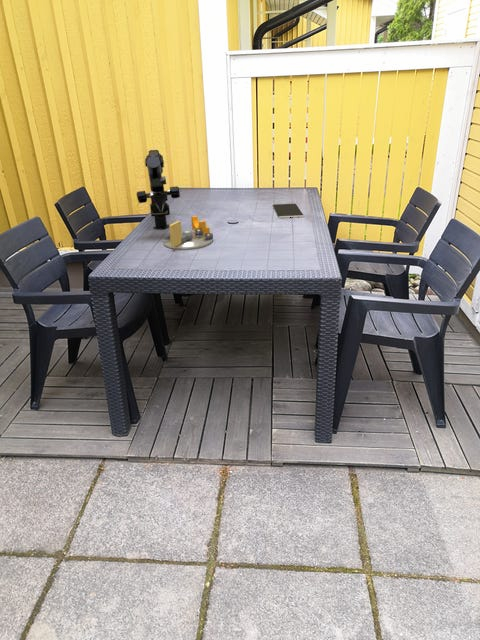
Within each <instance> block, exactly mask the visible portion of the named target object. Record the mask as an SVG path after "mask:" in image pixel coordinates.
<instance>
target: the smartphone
mask: <svg viewBox="0 0 480 640" xmlns="http://www.w3.org/2000/svg"><path fill="white" fill-rule="evenodd" d="M272 209H273V210H274V212H275V214H276V216H277V218H278V219H279V220H280V219H281V220H282V219H284V220H285V219H291V218H292V219H298V218H300V219H302V218H305V215H304V214H303V212H302V211H301V209H300V207H299V206H298V204H297V203H277V204H276V203H275V204H274V203H273V205H272ZM290 217H291V218H290Z"/></svg>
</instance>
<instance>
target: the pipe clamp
mask: <svg viewBox="0 0 480 640" xmlns="http://www.w3.org/2000/svg"><path fill="white" fill-rule="evenodd" d="M190 219H191V230H193V231H194V232H195V229H198V228H201V229H203V233H205V234H206V233H211V229H210V227H209V226H207V223H206V221H205V220H199V217H198V216H197V215H194V216H190Z"/></svg>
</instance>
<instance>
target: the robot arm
mask: <svg viewBox="0 0 480 640" xmlns="http://www.w3.org/2000/svg"><path fill="white" fill-rule="evenodd" d="M145 156H146V157H145V158H144V165H145V167H146V168H147V171H148V178H149V186H150V192H149V193H147V192H146V190H141V191H137V192H136V198H137V202H138V204H143V203H146V202H148V199H150V200H151V201H150V204H149V206H150V207H149V208H150V213H151V214H150V215H151V217H154V226H152V228H153V229H156V230H157V229H159V230H165V229H167V228H169V225H170V224H168V221H167V216H169V215H171V214H170V213H171V212H170V205H169V203H168V202H167V201H169V198H168V196H170V197H171V198H172V199H179V198H181V194H180V188H179V186H178V185H177V186H170V187H169V190H165V186H164V185H167V179H166V176H165V175H164V176H163V175H162V174H163V172H164V168H165V165H164V164H165V161H164V157H163V155H162V154H161V153H160V152H159V150H158V149H150V150H148V155H145Z"/></svg>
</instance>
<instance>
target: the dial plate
mask: <svg viewBox="0 0 480 640" xmlns="http://www.w3.org/2000/svg"><path fill="white" fill-rule="evenodd" d="M191 232H192V235H193V239H191V240H187V241H185V242H183V243H181V244H179V245H177V246H175V247H171V239H170V235H169V236H167V237H165V238H164V239H163V241H162V242H163V246H164V247H165V248H167V249H170V250H177V251H189V250H197V249H202V248H205V247H207V246H209V245H211V244H213V241H214V235H213V233H212V232H210V233H206V234H205V233H203V229H201V228H198V229H195V231H194V232H193V231H191ZM182 236H183V234H182Z"/></svg>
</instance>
